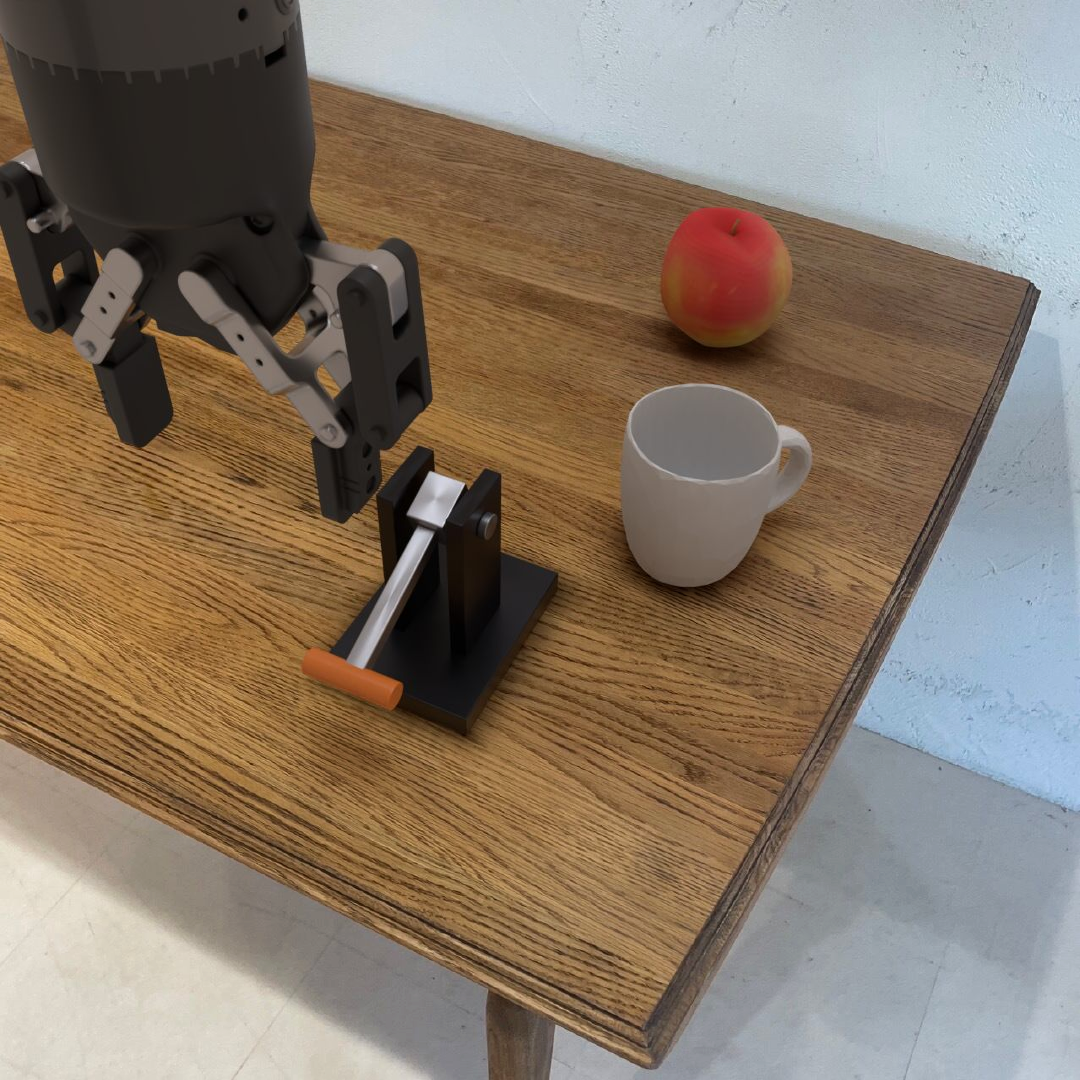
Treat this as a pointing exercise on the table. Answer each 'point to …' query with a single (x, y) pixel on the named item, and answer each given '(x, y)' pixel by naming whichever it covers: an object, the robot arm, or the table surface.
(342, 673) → the switch
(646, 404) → the mug
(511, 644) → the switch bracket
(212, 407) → the table surface
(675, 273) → the apple
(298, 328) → the table surface
